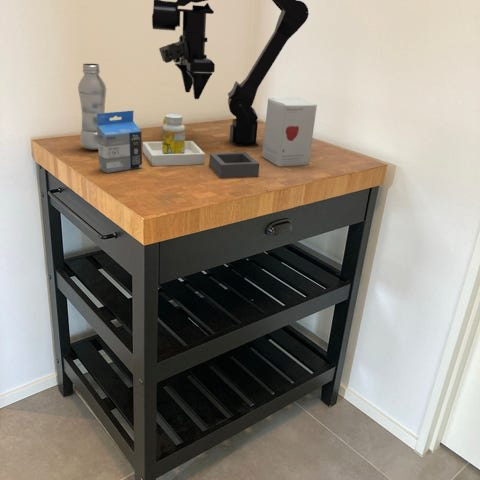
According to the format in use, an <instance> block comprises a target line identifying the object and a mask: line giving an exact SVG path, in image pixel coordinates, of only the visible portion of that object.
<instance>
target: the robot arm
mask: <svg viewBox="0 0 480 480" xmlns="http://www.w3.org/2000/svg"><path fill="white" fill-rule="evenodd" d="M206 1H208V0H176V1H169V0H167V1H166V0H153V9H152V14H151V18H152V19H151V24H152V30H158V31H159V30H160V31H161V30H162V31H163V30H164V31H173V32H175V31H176V28H178V27H181V12H182V34H180V35H179V38H178V41H176V42H172V43H170V44H167V45H165V46H161V47H159V49H158V50H159V54H160V56H161V60H162V61H163V62H164V63H167V64H168V63H171V62H173V63H174V65H175V66H176V67H177V68H178V70H179V71H180V74H181V78H182V81H183V82H182V83H183V87H184V91H185V93H191V90H193V92H192V93H193V98H194V99H195V100H199V99H200V97H201V96H202V93H203V91H204V90H205V88H206V85H207V83H208V82H209V80H210V78H211V76H212V75H213V73H215V66H216V65H215V63H214V61H212V60H211V59H210V58H207V56H208V55H207V54H205V48H206V43H208V37H206V25H207V24H206V23H207V15H208V14H209V15H214V13H215V12H214V9H212V8H211V6H210V4H209V3H208V2H206ZM271 1H272V2H273V4H274V5H275V6H276V7H277V8H278V9H279V10H280V14H279V16H278V20H277V23H276V25H275V28H274V31H273V32H272V35H271V36H270V38H269V40H268V41H267V43H266V45H265V46H264V47H263V49H262V51H261V52H260V54H259V56H258V57H257V59H256V60H255V62H254V64H253V66H252V67H251V69H250V70H249V72H248V74H247V76H246V77H245V78H244V79H243V81H242V82H240V83H239V82H238V81H235V82H234V84H233V87H232V89H231V90H230V91H229V92H228V93H227V95H228V98H227V104H228V109H229V112H230V114H231V115H232V116H234V117H235V118H234V119H232V124H230V127H229V128H230V129H229V141H230V142H231V143H232V144H233V145H235V146H237V147H239V146H242V147H244V146H247V147H251V146H259V142H257V135H258V124H259V122H258V119H259V115H257V112H256V110H255V109H254V107H253V104H254V102H255V98H256V96H257V92H258V90H259V87H260V86H261V84H262V82H263V81H264V79H265V77H266V75H267V74H268V72H269V71H270V69H271V68H272V66H273V64H274V63H275V61H276V59H277V58H278V56H279V54H280V53H281V51H282V50H283V48H284V47H285V45H286V44H287V42H288V41H289V39H290V38H291V37H293V35H295V33H297V32H298V30H299V29H300V28H301V27H302V26H303V25H304V24H305V22H307V19H308V18H309V14H310V13H309V8H308V6H307V4H306V3H305V2H304V1H301V0H271ZM201 2H202V3H203V2H206V3H205V5H198V4H197V3H201ZM190 3H193V4H192V7H191V8H192V9H188V8H179V7H185V6H187V5H188V4H190ZM196 4H197V5H196Z"/></svg>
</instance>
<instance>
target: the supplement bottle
mask: <svg viewBox="0 0 480 480" xmlns="http://www.w3.org/2000/svg"><path fill="white" fill-rule="evenodd" d="M167 114H168V113H167ZM164 118H165V121H166V122H167V123H166V124H164V125H163V124H162V131H161V132H162V141H161V142H163V143H162V154H185V141H186V126H185V125H184V124H183V120H184V119H183V115H181V114H177V113H174V114H168V115H165V116H164Z"/></svg>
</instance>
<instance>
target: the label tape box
mask: <svg viewBox="0 0 480 480" xmlns="http://www.w3.org/2000/svg"><path fill="white" fill-rule="evenodd" d="M115 117H117V118H121V119H114V120H113V119H112V118H115ZM110 119H112V120H110ZM97 135H98V164H99V165H98V166H99V170H100V171H102V172H104V173H106V174H109V173H115V172H116V173H117V172H122V171H128V170H134V169H140V168H143V142H142V131H141V130H140V128H139V127H138V125H137V124H136V123H135V122H134V110H126V111H125V110H122V111H113V112H112V111H111V112H105V113H98V114H97Z"/></svg>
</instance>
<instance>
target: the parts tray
mask: <svg viewBox="0 0 480 480" xmlns="http://www.w3.org/2000/svg"><path fill="white" fill-rule="evenodd" d="M162 143H163V142H162V141H143V142H142V154H144V156H145V158H146V159H147V160H148V162H149V163H150V165H151V167H163V166H167V167H168V166H190V165H191V166H192V165H206V164H205V163H206V153H205V152H204V151H203V150H202V149H201V148H200V147H199V146H198V145H197V144H196V143H195V142H194V141H193V140H185V154H162Z"/></svg>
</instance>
